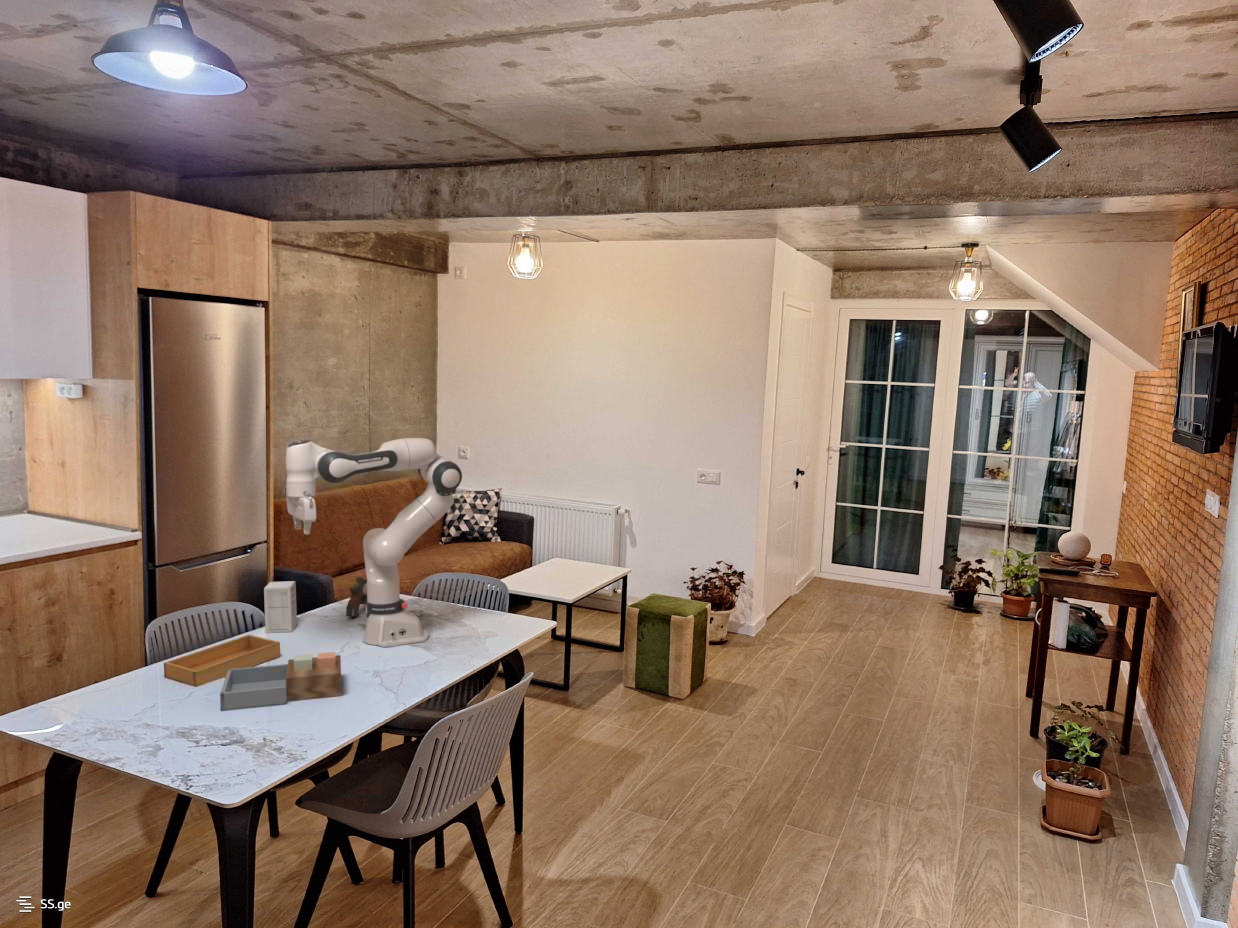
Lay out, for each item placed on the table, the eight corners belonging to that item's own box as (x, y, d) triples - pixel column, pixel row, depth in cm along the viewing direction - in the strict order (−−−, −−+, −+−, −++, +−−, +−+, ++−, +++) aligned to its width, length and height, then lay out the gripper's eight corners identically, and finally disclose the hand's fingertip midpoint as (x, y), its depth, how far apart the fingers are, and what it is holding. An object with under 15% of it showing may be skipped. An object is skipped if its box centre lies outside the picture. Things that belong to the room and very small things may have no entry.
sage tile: (312, 663, 251) (312, 653, 250) (312, 669, 246) (312, 659, 246) (294, 665, 249) (294, 655, 249) (294, 670, 244) (294, 660, 244)
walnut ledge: (340, 676, 259) (340, 655, 258) (341, 695, 244) (341, 672, 243) (289, 681, 254) (288, 659, 254) (286, 701, 239) (286, 678, 239)
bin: (289, 679, 256) (289, 663, 256) (286, 704, 237) (285, 687, 237) (228, 685, 251) (228, 669, 250) (220, 710, 232) (220, 693, 231)
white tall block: (297, 624, 311) (296, 580, 309) (292, 632, 302) (291, 586, 300) (270, 625, 309) (269, 581, 307) (264, 633, 300) (263, 587, 298)
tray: (196, 688, 249) (195, 670, 248) (164, 679, 256) (163, 661, 255) (280, 658, 276) (280, 641, 275) (249, 650, 283) (249, 634, 282)
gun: (381, 616, 344) (385, 580, 346) (355, 616, 317) (359, 577, 319) (370, 615, 344) (373, 579, 347) (342, 616, 317) (346, 576, 320)
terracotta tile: (335, 661, 253) (335, 651, 253) (335, 667, 248) (335, 657, 248) (317, 663, 251) (317, 653, 251) (317, 668, 247) (317, 658, 246)
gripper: (320, 493, 266) (322, 535, 267) (301, 485, 282) (303, 525, 283) (300, 494, 262) (301, 538, 263) (282, 487, 278) (284, 527, 280)
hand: (302, 531), depth 273 cm, fingers open, 8 cm apart
